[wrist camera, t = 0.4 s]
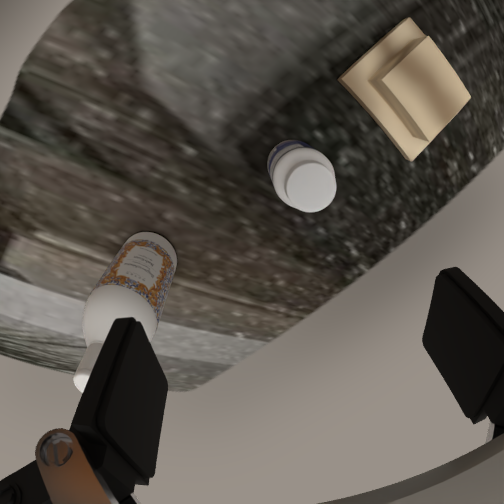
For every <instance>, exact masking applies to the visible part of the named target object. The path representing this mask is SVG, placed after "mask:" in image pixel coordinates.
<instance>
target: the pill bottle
mask: <svg viewBox="0 0 504 504" xmlns="http://www.w3.org/2000/svg"><path fill="white" fill-rule="evenodd" d="M267 168H268V173H269V175H270V178H271V180H272V183H273V185H274V188H275V191H276V193H277V194H278V196H279V197H280V198H281V199H282V200H283V201H284V202H285V203H286V204H288V205H289V206H291V207H294V208H297V209H299V210H301V211H304V212H317V211H320V210H322V209H324V208H325V207H327V206H328V205H329V204H330V203H331V201H332V200H333V198H334V196H335V193H336V180H335V173H334V169H333V166H332V164H331V163H330V161H329V160H328V159H327V158H326V157H325V156H324V155H323V154H322V153H321V152H319V151H318V150H316V149H314V148H313V147H311V146H310V145H308V144H306V143H304V142H302V141H299V140H287V141H283V142H281V143H279V144H278V145H277V146H275V147H274V148H273V150H272V151H271V153H270V155H269V157H268V161H267Z"/></svg>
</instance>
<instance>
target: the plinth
mask: <svg viewBox="0 0 504 504" xmlns="http://www.w3.org/2000/svg"><path fill="white" fill-rule="evenodd" d="M337 80H338V81H339V82H340V83H341V84H342V85H343V86H344V87H345V88H346V89H347V90H348V92H349V93H350V94H351V95H352V96H353V97H354V98H355V99H356V100H357V101H358V102H359V103H360V104H361V106H362V107H363V108H364V109H365V110H366V111H367V112H368V113H369V115H370V116H371V117H372V118H373V119H374V120H375V122H376V123H377V124H378V125H379V126H380V127H381V129H382V130H383V131H384V132H385V134H386V135H387V136H388V137H389V138H390V140H391V141H392V142H393V143H394V145H395V146H396V147H397V149H398V150H399V151H400V152H401V154H402V155H403V156H404V158H405V159H407V160H409V161H411V162H412V161H413V160H414V159H415V158H416V157H417V156H418V155H419V154H420V153H421V152H422V150H423V149H424V148H425V147H426V146H427V145H428V144H429V143H430V142H431V141H432V140H433V139H434V138H435V137H436V136H437V135H438V134H439V132H440V131H441V130H442V129H443V128H444V127H445V126H446V125H447V124H448V123H449V122H450V121H451V120H452V118H453V117H454V116H455V115H456V114H457V113H458V112H459V111H460V110H461V109H462V107H463V106H464V105H465V104H466V103H467V102H468V101H469V100H470V98H471V96H470V94H469V93H468V91H467V89H466V88H465V86H464V85H463V83H462V82H461V80H460V78H459V77H458V75H457V74H456V72H455V71H454V69H453V68H452V67H451V65H450V64H449V62H448V61H447V59H446V58H445V57H444V55H443V54H442V53H441V51H440V50H439V49H438V47H437V46H436V45H435V43H434V42H433V41H432V39H431V38H430V37H429V36H425V35H424V33H423V32H422V31H421V30H420V29H419V27H418V26H417V25H416V24H415V23H414V22H413V20H412V19H411V18H410V17H409V18H406V19H404V20H402V21H401V22H400V23H399V24H398V25H397V26H395V27H394V28H393V29H392V30H391V31H390V32H388V33H387V34H386V35H385V36H384V37H383V38H382V39H381V40H379V41H378V42H377V43H376V44H375V45H374V46H373V47H372V48H370V49H369V50H368V51H367V52H366V53H365V54H364V55H363V56H362V57H361V58H360V59H358V60H357V61H356V62H355V63H354V64H353V65H352V66H351V67H350V68H349V69H348V70H347V71H346V72H344V73H343V74H342V75H341V76H340V77H339V78H338V79H337Z"/></svg>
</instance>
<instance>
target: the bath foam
mask: <svg viewBox="0 0 504 504" xmlns="http://www.w3.org/2000/svg"><path fill="white" fill-rule="evenodd" d="M176 266H177V256H176V253H175V250H174V248H173V247H172V245H171V244H170V243H169V242H168V241H167V240H166V239H165V238H164V237H162V236H160V235H158V234H156V233H152V232H140V233H137V234H135V235H133V236H131V237H130V238H129V239H128V240H127V241H126V242H125V244H124V245H123V246H122V248H121V249H120V251H119V252H118V253H117V255H116V256H115V258H114V259H113V261H112V262H111V263H110V265H109V266H108V268H107V269H106V271H105V272H104V274H103V275H102V277H101V278H100V280H99V281H98V283H97V284H96V286H95V288H94V289H93V291H92V292H91V294H90V295H89V298H88V300H87V302H86V305H85V308H84V312H83V321H82V322H83V332H84V337H85V340H86V344H87V350H86V352H85V354H84V356H83V358H82V360H81V362H80V364H79V366H78V368H77V371H76V373H75V375H74V384H75V386H76V387H77V388H78V389H79V390H80V391H81V392H82V393H83V391H84V389H85V386H86V384H87V381H88V379H89V376H90V374H91V372H92V369H93V367H94V364H95V362H96V360H97V357H98V355H99V353H100V351H101V348H102V346H103V344H104V342H105V339H106V337H107V335H108V333H109V330H110V328H111V326H112V324H113V322H114V320H115V319H116V318H126V317H134V318H135V319H136V321H140V322H141V323H142V325H143V327H144V330H145V332H146V335H147V337H148V339H149V342H150V341H151V340H152V338H153V336H154V334H155V332H156V329H157V326H158V323H159V319H160V316H161V313H162V310H163V307H164V304H165V300H166V297H167V294H168V291H169V288H170V285H171V282H172V279H173V276H174V273H175V270H176Z"/></svg>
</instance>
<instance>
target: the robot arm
mask: <svg viewBox="0 0 504 504" xmlns="http://www.w3.org/2000/svg"><path fill="white" fill-rule="evenodd" d="M422 342H423V346H424V348H425V349H426V351H427V353H428V354H429V356H430V357H431V359H432V360H433V362H434V364H435V365H436V367H437V368H438V370H439V372H440V373H441V375H442V377H443V378H444V380H445V382H446V383H447V385H448V386H449V388H450V390H451V392H452V393H453V395H454V397H455V399H456V400H457V402H458V404H459V405H460V407H461V409H462V411H463V413H464V414H465V416H466V417H467V418H470V419H471V421H472V423H473V424H476V423H478V422H480V421H482V420H484V419H485V418H486V417H487V416H488V417H489V419H490V424H489V430H488V435H487V440H486V444H484V445H482V446H481V447H478V448H477V449H475V450H473V451H471V452H469V453H467V454H465V455H463V456H461V457H459V458H457V459H455V460H453V461H450V462H448V463H446V464H444V465H441V466H439V467H437V468H434V469H432V470H430V471H427V472H425V473H422V474H420V475H417V476H414V477H412V478H409V479H406V480H403V481H401V482H398V483H395V484H392V485H389V486H386V487H383V488H379V489H376V490H373V491H369V492H366V493H362V494H358V495H354V496H351V497H346V498H342V499H338V500H333V501H329V502H324V503H318V504H504V312H503V311H502V310H501V309H500V308H499V307H498V306H497V305H496V304H495V302H493V301H492V299H491V298H489V296H488V295H486V293H484V292H483V291H482V290H481V289H480V288H479V287H478V286H477V285H476V284H475V283H474V282H473V281H472V280H471V279H470V278H469V277H468V276H467V275H465V273H463V272H462V271H461V270H460V269H459V268H458V267H453V268H448V269H444V270H442V271H440V273H439V275H438V276H437V277H436V280H435V285H434V290H433V295H432V300H431V304H430V309H429V313H428V318H427V322H426V326H425V330H424V333H423V338H422ZM167 391H168V383H167V379H166V377H165V375H164V373H163V370H162V368H161V366H160V364H159V362H158V360H157V357H156V355H155V353H154V351H153V348H152V346H151V344H150V342H149V339H148V337H147V335H146V332H145V330H144V327H143V325H142V323H141V322H140V321H136V319H135V318H134V317H126V318H116V319H115V320H114V322H113V324H112V326H111V328H110V330H109V333H108V335H107V337H106V339H105V342H104V344H103V346H102V348H101V351H100V353H99V355H98V357H97V360H96V362H95V364H94V367H93V369H92V372H91V374H90V376H89V379H88V381H87V384H86V386H85V389H84V391H83V394H82V397H81V399H80V402H79V404H78V407H77V410H76V412H75V415H74V418H73V420H72V423H71V427H70V430H66V429H63V428H58V429H53V430H50V431H48V432H47V433H46V434H44V435H43V436H42V438H41V439H40V440H39V441H38V444H37V446H36V450H35V456H36V460H35V461H33V462H31V463H30V464H28V465H26V466H25V467H23V468H21V469H20V470H18V471H16V472H14V473H13V474H11V475H9V476H7V477H6V478H4V479H2V480H1V481H0V504H141V503H140V502H139V500H138V499H137V498H136V496H135V495H134V493H133V492H134V486H135V484H138V485H149V478H152V477H153V476H154V474H155V468H156V461H157V454H158V447H159V439H160V433H161V427H162V421H163V415H164V409H165V403H166V397H167Z"/></svg>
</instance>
